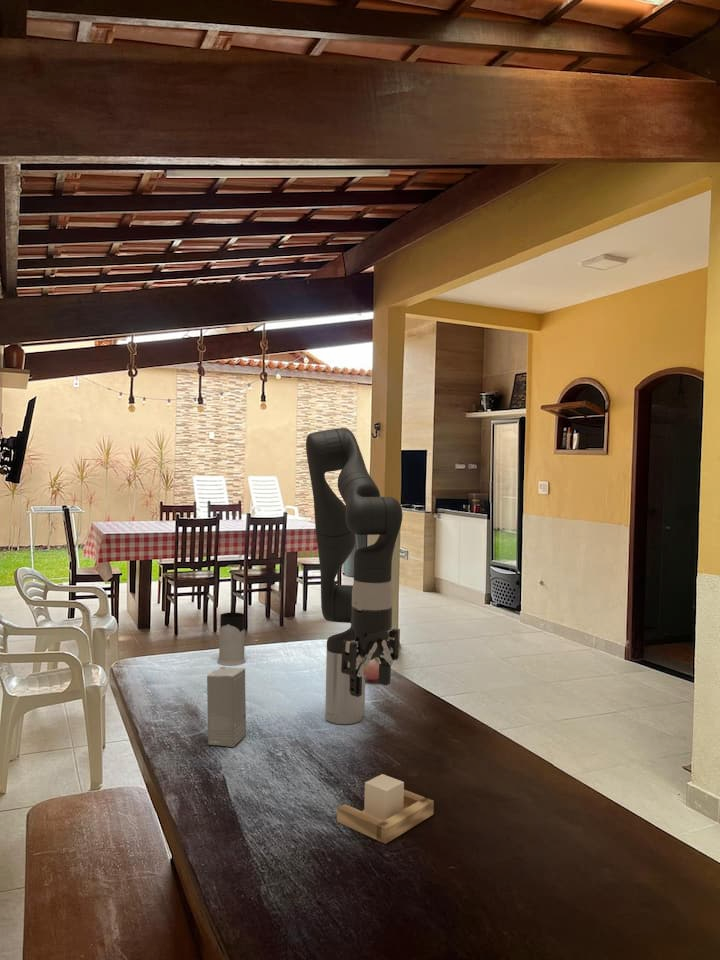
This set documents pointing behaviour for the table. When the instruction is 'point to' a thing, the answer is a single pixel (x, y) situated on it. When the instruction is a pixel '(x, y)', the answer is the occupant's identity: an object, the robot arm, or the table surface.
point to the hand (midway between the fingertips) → (370, 689)
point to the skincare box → (226, 706)
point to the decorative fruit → (372, 669)
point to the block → (383, 797)
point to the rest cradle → (392, 827)
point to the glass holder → (231, 639)
